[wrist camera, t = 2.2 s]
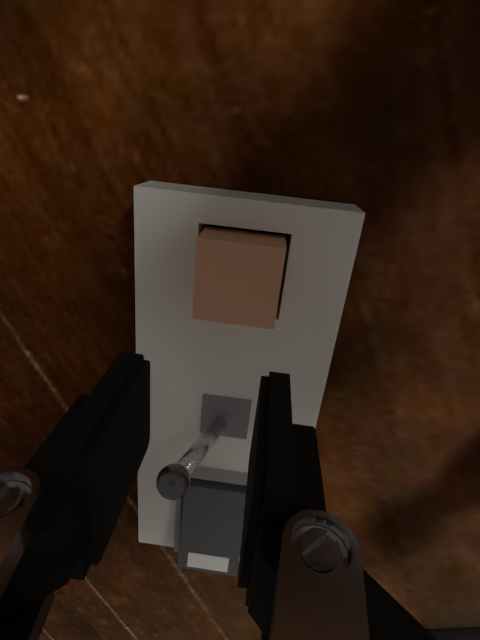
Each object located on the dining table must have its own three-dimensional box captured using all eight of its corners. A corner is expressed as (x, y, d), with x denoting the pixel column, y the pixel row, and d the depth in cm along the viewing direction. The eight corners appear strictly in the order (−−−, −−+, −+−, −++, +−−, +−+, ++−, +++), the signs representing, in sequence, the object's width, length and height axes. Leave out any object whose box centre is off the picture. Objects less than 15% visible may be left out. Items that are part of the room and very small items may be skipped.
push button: (206, 226, 22) (196, 237, 19) (285, 235, 21) (286, 248, 19) (201, 299, 23) (192, 318, 21) (274, 308, 23) (274, 329, 21)
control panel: (150, 180, 23) (128, 187, 19) (354, 204, 22) (368, 215, 19) (149, 510, 35) (135, 551, 31) (283, 530, 34) (283, 573, 31)
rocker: (188, 476, 28) (185, 485, 27) (248, 485, 28) (247, 494, 27) (180, 556, 30) (177, 568, 29) (237, 565, 30) (236, 577, 29)
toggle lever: (213, 402, 26) (149, 473, 20) (238, 412, 25) (179, 488, 19) (211, 424, 26) (149, 498, 21) (235, 434, 26) (177, 513, 20)
